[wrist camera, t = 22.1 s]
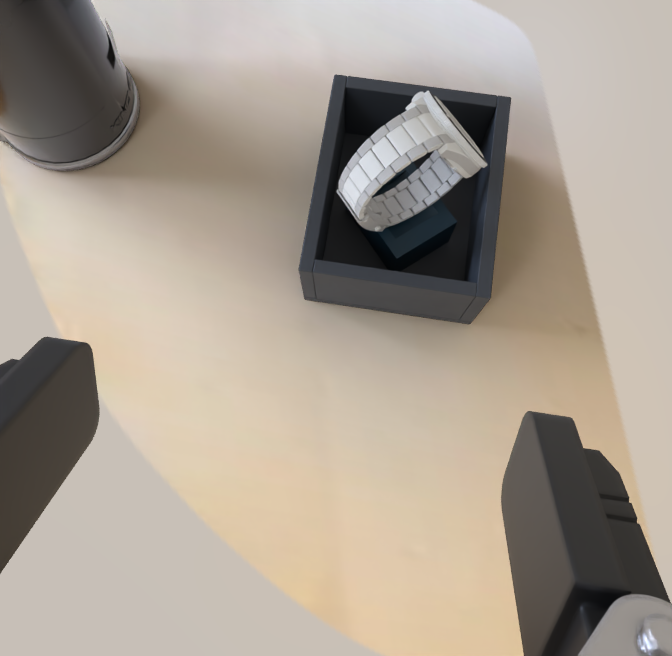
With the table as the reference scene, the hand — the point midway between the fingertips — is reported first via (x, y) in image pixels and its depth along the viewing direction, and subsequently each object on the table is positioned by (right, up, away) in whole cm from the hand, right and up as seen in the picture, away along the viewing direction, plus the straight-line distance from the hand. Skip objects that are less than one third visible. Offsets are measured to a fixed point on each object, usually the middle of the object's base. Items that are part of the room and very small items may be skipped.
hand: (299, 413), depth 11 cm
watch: (+5, +8, +29) cm, 30 cm away
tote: (+5, +9, +29) cm, 31 cm away
